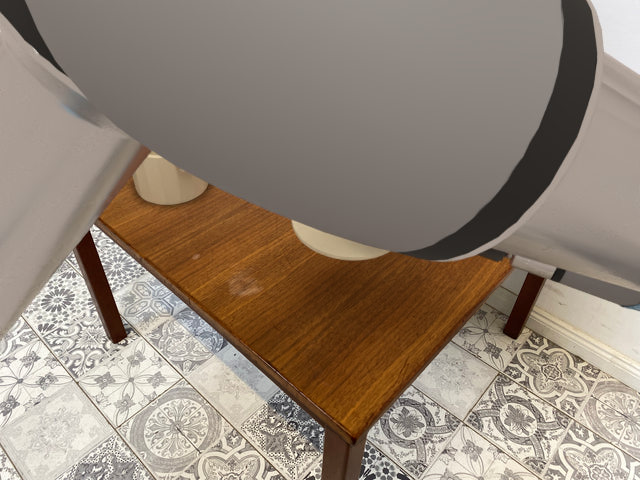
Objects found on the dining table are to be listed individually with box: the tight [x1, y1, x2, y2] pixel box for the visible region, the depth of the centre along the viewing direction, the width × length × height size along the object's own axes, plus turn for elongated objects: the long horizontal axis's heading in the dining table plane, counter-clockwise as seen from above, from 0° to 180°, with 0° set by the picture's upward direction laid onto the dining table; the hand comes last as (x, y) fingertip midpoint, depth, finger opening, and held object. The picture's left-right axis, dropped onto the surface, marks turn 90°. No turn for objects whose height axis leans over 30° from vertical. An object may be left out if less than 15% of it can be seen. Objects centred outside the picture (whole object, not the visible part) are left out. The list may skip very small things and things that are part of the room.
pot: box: [132, 151, 209, 206], centre depth 88 cm, size 13×18×10 cm
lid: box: [291, 220, 391, 261], centre depth 57 cm, size 14×14×10 cm
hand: (309, 162), depth 58 cm, fingers closed on lid, 3 cm apart
